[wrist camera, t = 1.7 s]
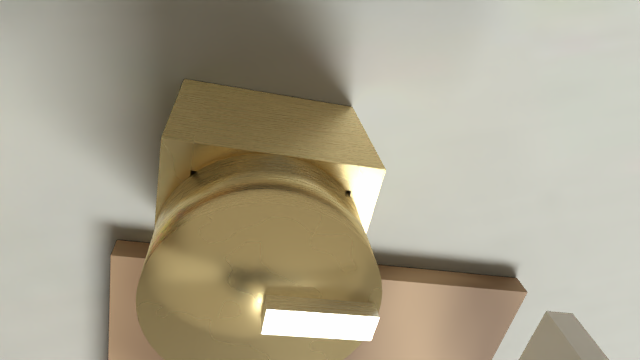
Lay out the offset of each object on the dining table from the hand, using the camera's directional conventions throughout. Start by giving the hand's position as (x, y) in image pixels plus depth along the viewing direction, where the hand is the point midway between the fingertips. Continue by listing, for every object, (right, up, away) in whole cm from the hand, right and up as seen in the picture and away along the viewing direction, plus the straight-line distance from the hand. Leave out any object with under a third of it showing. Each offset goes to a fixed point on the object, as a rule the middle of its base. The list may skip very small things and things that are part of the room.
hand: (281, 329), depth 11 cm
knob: (-1, +4, +7) cm, 8 cm away
